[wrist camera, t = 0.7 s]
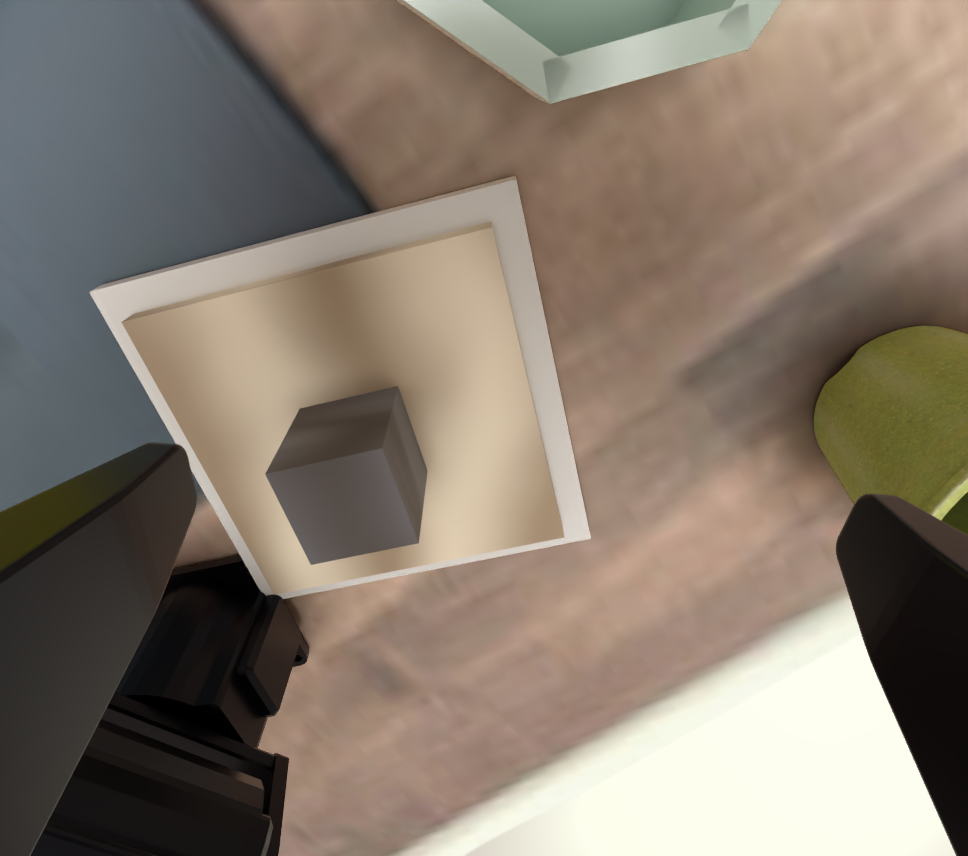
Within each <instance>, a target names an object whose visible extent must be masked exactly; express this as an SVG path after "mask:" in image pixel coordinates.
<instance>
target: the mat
mask: <svg viewBox="0 0 968 856" xmlns="http://www.w3.org/2000/svg"><path fill="white" fill-rule="evenodd" d="M488 222H492V227H493V231H494V235H495V239H496V244H497V248H498V252H499V257H500V261H501V265H502V269H503V274H504V278H505V282H506V287H507V291H508V295H509V299H510V304H511V308H512V312H513V316H514V321H515V325H516V329H517V334H518V338H519V342H520V346H521V351H522V355H523V359H524V364H525V368H526V372H527V376H528V381H529V385H530V389H531V394H532V398H533V402H534V406H535V411H536V415H537V419H538V423H539V428H540V432H541V436H542V441H543V445H544V449H545V453H546V458H547V462H548V466H549V471H550V475H551V479H552V483H553V488H554V492H555V496H556V500H557V505H558V509H559V513H560V518H561V522H562V527H563V532H564V538H559V539H554V540H549V541H544V542H539V543H534V544H529V545H524V546H518V547H513V548H508V549H503V550H498V551H493V552H488V553H483V554H478V555H473V556H468V557H463V558H458V559H453V560H448V561H443V562H438V563H433V564H428V565H422V566H417V567H412V568H407V569H402V570H397V571H392V572H387V573H382V574H377V575H372V576H367V577H362V578H357V579H352V580H347V581H342V582H337V583H332V584H327V585H321V586H316V587H311V588H306V589H301V590H296V591H291V592H286V593H281V594H276V595H279V596H281V597H282V599H287V598H292V597H297V596H302V595H307V594H312V593H317V592H322V591H327V590H332V589H337V588H342V587H348V586H353V585H358V584H363V583H368V582H373V581H378V580H383V579H388V578H393V577H398V576H403V575H409V574H414V573H419V572H424V571H429V570H434V569H439V568H444V567H449V566H454V565H459V564H464V563H469V562H475V561H480V560H485V559H490V558H495V557H500V556H505V555H510V554H515V553H520V552H525V551H530V550H535V549H541V548H546V547H551V546H556V545H561V544H566V543H571V542H576V541H581V540H586V539H591V536H590V532H589V527H588V522H587V517H586V512H585V507H584V503H583V498H582V493H581V488H580V483H579V479H578V474H577V469H576V464H575V459H574V455H573V450H572V445H571V440H570V435H569V430H568V426H567V421H566V416H565V411H564V406H563V402H562V397H561V392H560V387H559V382H558V378H557V373H556V368H555V363H554V358H553V353H552V349H551V344H550V339H549V334H548V329H547V325H546V320H545V315H544V310H543V305H542V301H541V296H540V291H539V286H538V281H537V277H536V272H535V267H534V262H533V257H532V252H531V248H530V243H529V238H528V233H527V228H526V224H525V219H524V214H523V209H522V204H521V200H520V195H519V190H518V185H517V180H516V177H515V176H511V177H507V178H504V179H500V180H496V181H492V182H488V183H485V184H481V185H477V186H473V187H469V188H466V189H462V190H458V191H454V192H451V193H447V194H443V195H439V196H435V197H432V198H428V199H424V200H420V201H416V202H413V203H409V204H405V205H401V206H398V207H394V208H390V209H386V210H382V211H379V212H375V213H371V214H367V215H363V216H360V217H356V218H352V219H348V220H345V221H341V222H337V223H333V224H329V225H326V226H322V227H318V228H314V229H310V230H307V231H303V232H299V233H295V234H292V235H288V236H284V237H280V238H276V239H273V240H269V241H265V242H261V243H257V244H254V245H250V246H246V247H242V248H239V249H235V250H231V251H227V252H223V253H220V254H216V255H212V256H208V257H205V258H201V259H197V260H193V261H189V262H186V263H182V264H178V265H174V266H170V267H167V268H163V269H159V270H155V271H152V272H148V273H144V274H140V275H136V276H133V277H129V278H125V279H121V280H117V281H114V282H110V283H106V284H102V285H100V286H99V287H97V288H95V289H93V290H92V291H90V292H89V293H90V294H91V296H92V298H93V300H94V301H95V303H96V305H97V307H98V308H99V310H100V312H101V314H102V315H103V317H104V319H105V321H106V322H107V324H108V326H109V328H110V329H111V331H112V333H113V335H114V336H115V338H116V340H117V342H118V343H119V345H120V347H121V349H122V350H123V352H124V354H125V355H126V357H127V359H128V361H129V362H130V364H131V366H132V368H133V369H134V371H135V373H136V375H137V376H138V378H139V380H140V382H141V383H142V385H143V387H144V389H145V390H146V392H147V394H148V396H149V397H150V399H151V401H152V403H153V404H154V406H155V408H156V410H157V411H158V413H159V415H160V417H161V418H162V420H163V422H164V424H165V425H166V427H167V429H168V431H169V432H170V434H171V436H172V438H173V439H174V441H175V443H176V444H179V445H181V446H182V447H183V448H184V449H185V450H186V453H187V455H188V459H189V464H190V468H191V471H192V472H193V474H194V476H195V478H196V479H197V481H198V483H199V485H200V486H201V488H202V490H203V492H204V493H205V495H206V497H207V499H208V500H209V502H210V504H211V506H212V507H213V509H214V511H215V513H216V514H217V516H218V518H219V520H220V521H221V523H222V525H223V527H224V528H225V530H226V532H227V534H228V535H229V537H230V539H231V540H232V542H233V544H234V546H235V547H236V549H237V551H238V553H239V554H240V556H241V558H242V560H243V561H244V563H245V565H246V567H247V568H248V570H249V572H250V574H251V575H252V577H253V579H254V581H255V582H256V584H257V586H258V588H259V589H260V591H261V592H263V593H264V594H265V595H266V596H267V595H272V594H273V592H272V590H271V588H270V587H269V585H268V583H267V581H266V579H265V578H264V576H263V574H262V572H261V570H260V569H259V567H258V565H257V563H256V562H255V560H254V558H253V556H252V554H251V553H250V551H249V549H248V547H247V545H246V544H245V542H244V540H243V538H242V537H241V535H240V533H239V531H238V529H237V528H236V526H235V524H234V522H233V521H232V519H231V517H230V515H229V513H228V512H227V510H226V508H225V506H224V504H223V503H222V501H221V499H220V497H219V496H218V494H217V492H216V490H215V488H214V487H213V485H212V483H211V481H210V479H209V478H208V476H207V474H206V472H205V471H204V469H203V467H202V465H201V463H200V462H199V460H198V458H197V456H196V455H195V453H194V451H193V449H192V447H191V446H190V444H189V442H188V440H187V438H186V437H185V435H184V433H183V431H182V430H181V428H180V426H179V424H178V422H177V421H176V419H175V417H174V415H173V413H172V412H171V410H170V408H169V406H168V405H167V403H166V401H165V399H164V397H163V396H162V394H161V392H160V390H159V389H158V387H157V385H156V383H155V381H154V380H153V378H152V376H151V374H150V372H149V371H148V369H147V367H146V365H145V364H144V362H143V360H142V358H141V356H140V355H139V353H138V351H137V349H136V347H135V346H134V344H133V342H132V340H131V339H130V337H129V335H128V333H127V331H126V330H125V328H124V326H123V324H122V323H121V322H122V321H124V320H125V319H127V318H128V317H129V316H131V315H132V314H134V313H138V312H142V311H146V310H150V309H154V308H158V307H161V306H165V305H169V304H173V303H177V302H181V301H185V300H189V299H193V298H196V297H200V296H204V295H208V294H212V293H216V292H220V291H224V290H228V289H231V288H235V287H239V286H243V285H247V284H251V283H255V282H259V281H263V280H266V279H270V278H274V277H278V276H282V275H286V274H290V273H294V272H298V271H301V270H305V269H309V268H313V267H317V266H321V265H325V264H329V263H333V262H336V261H340V260H344V259H348V258H352V257H356V256H360V255H364V254H368V253H371V252H375V251H379V250H383V249H387V248H391V247H395V246H399V245H403V244H407V243H410V242H414V241H418V240H422V239H426V238H430V237H434V236H438V235H442V234H445V233H449V232H453V231H457V230H461V229H465V228H469V227H473V226H477V225H480V224H484V223H488Z"/></svg>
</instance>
